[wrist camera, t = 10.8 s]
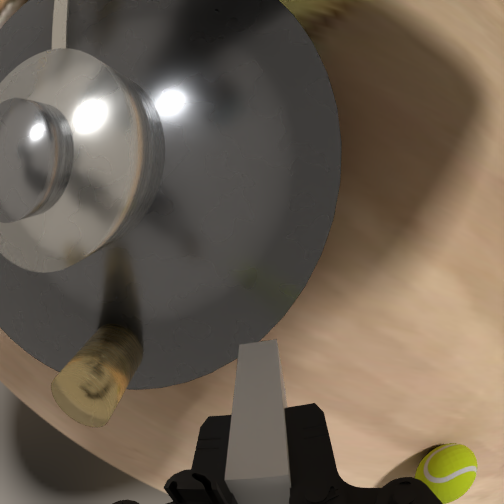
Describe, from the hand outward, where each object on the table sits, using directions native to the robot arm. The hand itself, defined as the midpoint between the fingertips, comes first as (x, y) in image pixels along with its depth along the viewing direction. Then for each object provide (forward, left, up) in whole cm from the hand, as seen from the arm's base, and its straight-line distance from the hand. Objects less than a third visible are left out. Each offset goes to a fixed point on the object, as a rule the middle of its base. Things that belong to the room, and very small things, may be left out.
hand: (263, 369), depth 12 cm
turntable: (-10, -8, -5) cm, 14 cm away
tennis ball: (+21, +15, -7) cm, 27 cm away
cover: (-10, -7, -3) cm, 13 cm away
